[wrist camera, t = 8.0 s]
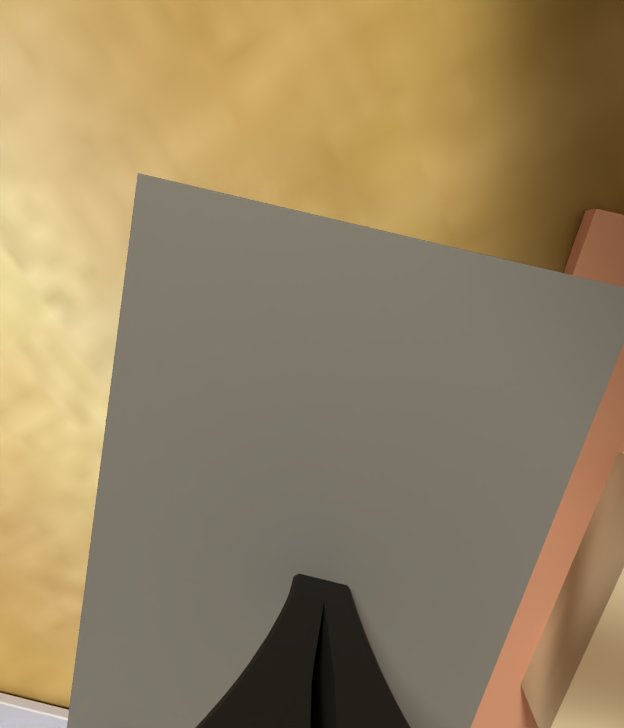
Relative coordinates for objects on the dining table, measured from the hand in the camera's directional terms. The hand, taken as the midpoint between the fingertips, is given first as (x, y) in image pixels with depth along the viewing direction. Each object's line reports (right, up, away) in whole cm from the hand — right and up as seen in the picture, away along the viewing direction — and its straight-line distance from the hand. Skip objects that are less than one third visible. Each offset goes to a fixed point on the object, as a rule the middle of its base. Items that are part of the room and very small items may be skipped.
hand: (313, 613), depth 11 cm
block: (0, +1, +5) cm, 5 cm away
